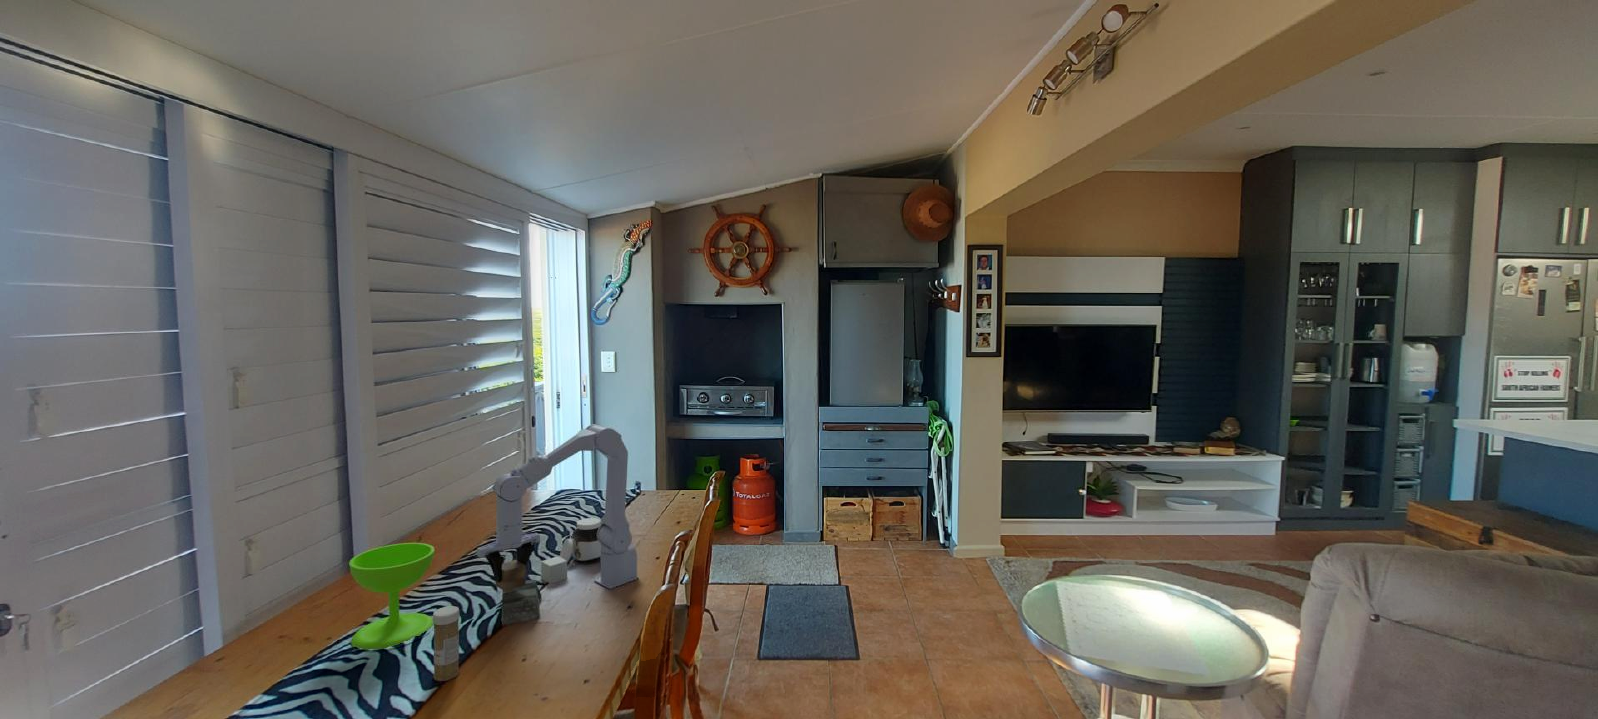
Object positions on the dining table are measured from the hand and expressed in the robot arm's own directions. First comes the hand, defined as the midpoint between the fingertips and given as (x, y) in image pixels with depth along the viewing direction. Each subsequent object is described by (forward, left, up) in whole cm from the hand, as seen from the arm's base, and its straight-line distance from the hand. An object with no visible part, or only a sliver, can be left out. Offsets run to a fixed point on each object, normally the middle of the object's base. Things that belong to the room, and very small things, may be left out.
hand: (509, 577), depth 147 cm
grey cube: (-17, -10, -8) cm, 21 cm away
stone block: (-2, +1, -9) cm, 9 cm away
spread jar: (-29, -16, -9) cm, 34 cm away
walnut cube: (0, 0, -2) cm, 2 cm away
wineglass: (+22, -9, -9) cm, 25 cm away
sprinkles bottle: (+21, +18, -9) cm, 29 cm away
